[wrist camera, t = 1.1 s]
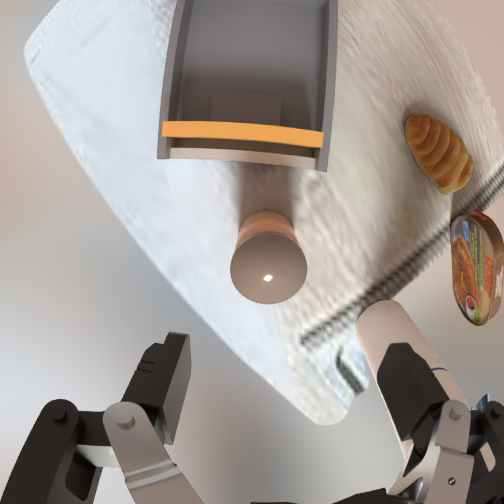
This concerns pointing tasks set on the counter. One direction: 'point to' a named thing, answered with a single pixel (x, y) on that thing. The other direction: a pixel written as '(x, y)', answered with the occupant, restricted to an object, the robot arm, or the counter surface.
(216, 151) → the lane
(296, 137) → the pusher
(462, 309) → the tin
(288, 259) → the jar
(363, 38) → the counter surface
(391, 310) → the cylindrical container
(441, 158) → the pastry
